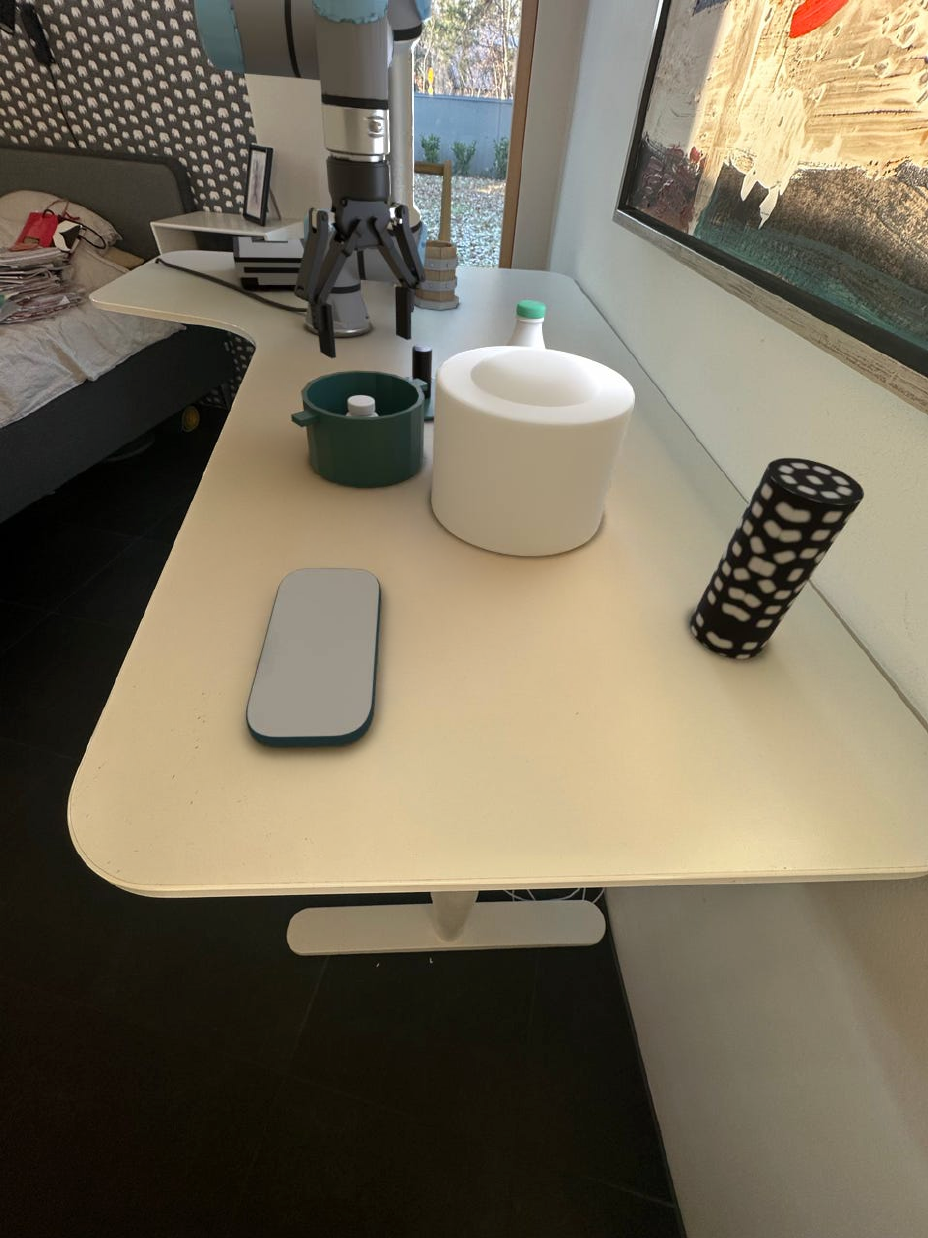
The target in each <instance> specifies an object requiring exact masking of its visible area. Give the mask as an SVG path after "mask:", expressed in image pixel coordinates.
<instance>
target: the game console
mask: <svg viewBox="0 0 928 1238" xmlns="http://www.w3.org/2000/svg"><path fill="white" fill-rule="evenodd" d="M232 243H233V244H232V245H233V251H232V257H233V258H232V259H233V262H234V268H235V274H236V277H237V279H240V281H241V285H242V288H243V289H246V290H248V291H267V287H266V286H291V288H292V291H294V290H295V286H296V282H297V277H298V273H299V269H300V265H301V261H302V257H303V253H304V248H305V242H304V237H303V238H302V237H300V238H299V237H286V240H265V239H264V240H262V239H261V240H260V239H252V236H232Z"/></svg>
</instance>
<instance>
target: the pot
mask: <svg viewBox="0 0 928 1238" xmlns="http://www.w3.org/2000/svg"><path fill="white" fill-rule="evenodd" d="M425 390H427V383H425V382H423V381H421V380H419V379H415V380H408V379H405V378H404V376H403V377H402V376H399V375H397V374H393V373H388V372H382V371H376V370H348V371H345V370H344V371H336V372H332V373H329V374H325V375H320V376H318V377H316V378H314V379H312V380H311V381H308V382H307V383H306V384H305V386H304V387H303V388H302V389H301V391H300V393H301V400H302V401H301V402H302V408H303V410H302V411H297V412H295V413H290V418H291V422H292V423H293V424H296V426H298V427H300V428H305V430H306V437H307V445H308V452H309V459H310V460H309V461H310V464H311V467H312V469H313V470H314V472H315V473H316V474H318V475H319V476H320V477H322V478H323V479H325V480H327V481H329V482H332V483H334V484H337V485H340V486H347V487H352V488H368V489H369V488H382V487H388V486H392V485H397V484H399V483H402V482H405V481H406V480H409V479H410V478H412V477H413V476H414V475H416V474H417V473H418V472H419V470H420V469H421V468H422V466H423V461H424V460H423V459H424V440H425V439H424V437H425V419H424V394H423V392H422V391H425ZM357 395H364V396H369V397H372V398H373V399H374V401H375V411H374V412H375V413H376V414H377V415H378V416H376V417H351V416H346V414H347V413H348V412H349V410H348V399H349V398H350V397H352V396H357Z"/></svg>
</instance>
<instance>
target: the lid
mask: <svg viewBox="0 0 928 1238" xmlns="http://www.w3.org/2000/svg"><path fill="white" fill-rule="evenodd" d="M411 351H412V352H411V363H412V364H411V376H405V377H404V376H403V378H405V379H408V380H415V379H419V380H421V381H423V382H425V383H427V390H425V391H422V392H423V394H424V420H434V406H435V379H436V377H435V378H433V377H432V374H433V372H432V370H433V348H432V347H431V346H429V345H425V344H416V345H413V346H412V347H411Z"/></svg>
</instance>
